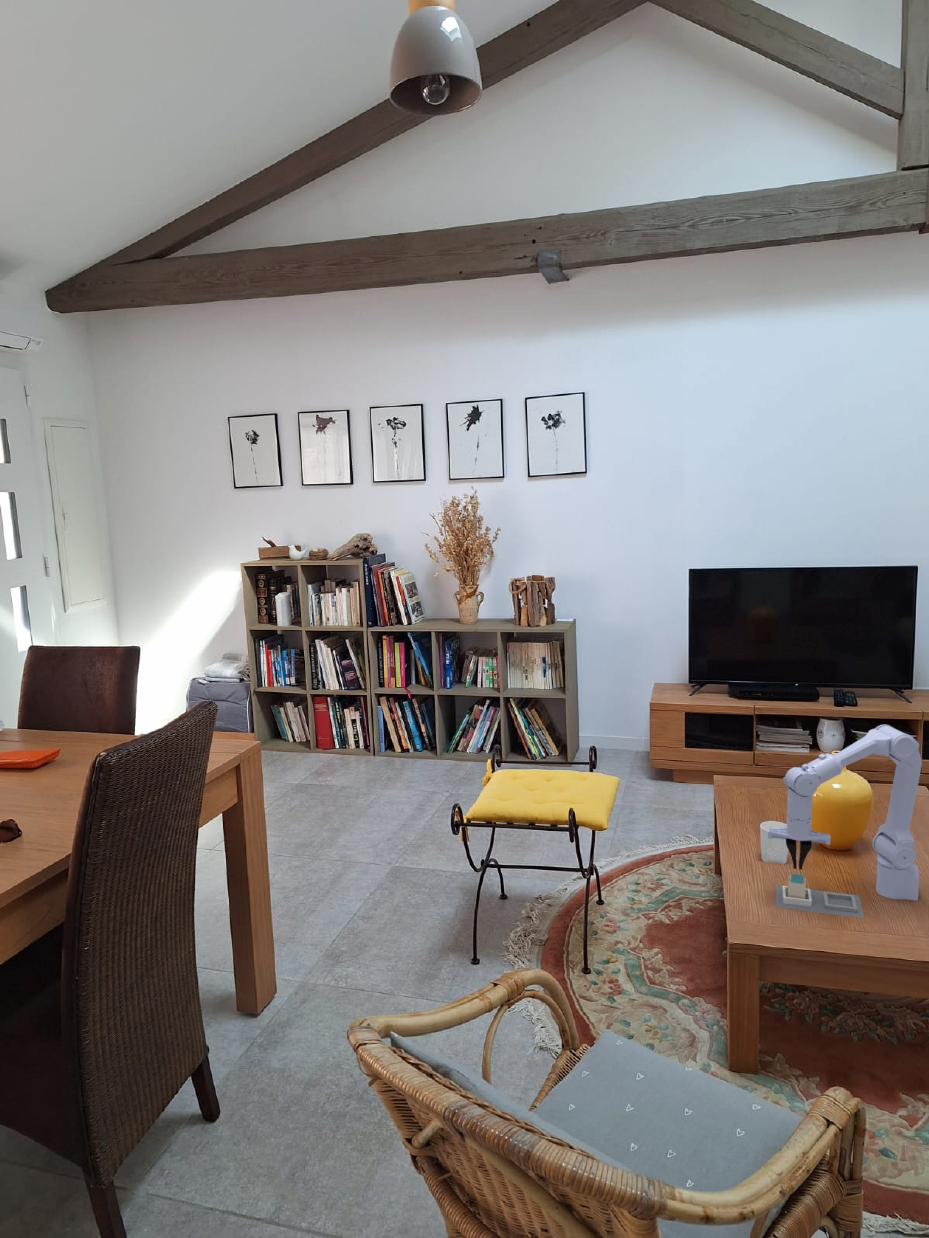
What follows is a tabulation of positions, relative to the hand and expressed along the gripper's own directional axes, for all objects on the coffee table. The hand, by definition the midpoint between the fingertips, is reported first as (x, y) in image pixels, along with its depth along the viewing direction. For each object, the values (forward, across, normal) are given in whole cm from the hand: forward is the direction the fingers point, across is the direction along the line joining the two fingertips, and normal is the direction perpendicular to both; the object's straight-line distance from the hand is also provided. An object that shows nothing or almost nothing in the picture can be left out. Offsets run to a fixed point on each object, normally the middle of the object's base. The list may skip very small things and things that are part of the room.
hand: (797, 867), depth 212 cm
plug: (+8, 0, 0) cm, 8 cm away
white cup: (+10, +5, -24) cm, 26 cm away
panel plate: (+9, -5, 0) cm, 11 cm away
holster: (+8, -10, 0) cm, 13 cm away
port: (+9, 0, 0) cm, 9 cm away
